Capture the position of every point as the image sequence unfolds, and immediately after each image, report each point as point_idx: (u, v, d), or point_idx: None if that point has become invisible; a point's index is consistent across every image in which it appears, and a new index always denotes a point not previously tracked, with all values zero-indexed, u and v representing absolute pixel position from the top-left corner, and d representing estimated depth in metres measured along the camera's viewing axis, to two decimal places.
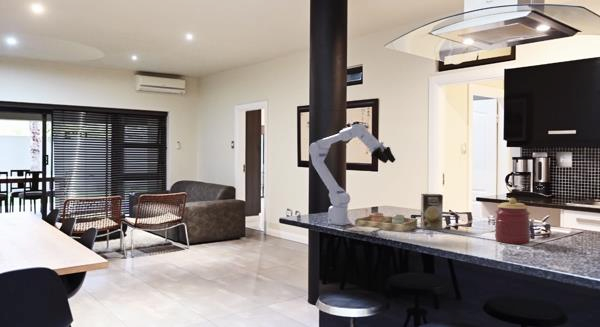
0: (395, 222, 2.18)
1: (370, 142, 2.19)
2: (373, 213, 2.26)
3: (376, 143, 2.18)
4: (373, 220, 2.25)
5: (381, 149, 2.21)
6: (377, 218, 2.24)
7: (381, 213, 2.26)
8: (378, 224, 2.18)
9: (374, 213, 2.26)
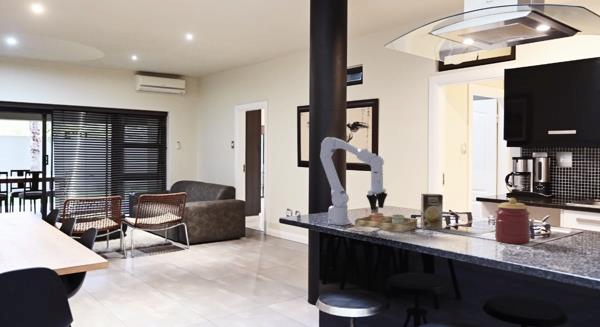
0: (395, 222, 2.18)
1: (375, 183, 2.23)
2: (373, 213, 2.26)
3: (379, 188, 2.23)
4: (373, 220, 2.25)
5: (379, 192, 2.28)
6: (377, 218, 2.24)
7: (381, 213, 2.26)
8: (378, 224, 2.18)
9: (374, 213, 2.26)
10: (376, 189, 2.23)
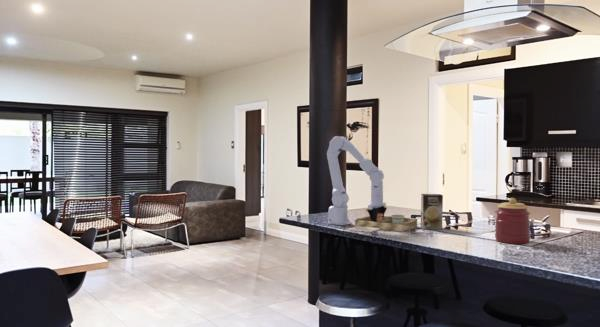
0: (395, 222, 2.18)
1: (375, 197, 2.23)
2: None
3: (379, 202, 2.23)
4: None
5: (379, 205, 2.28)
6: (377, 218, 2.24)
7: (381, 213, 2.26)
8: (378, 224, 2.18)
9: None
10: (376, 203, 2.23)
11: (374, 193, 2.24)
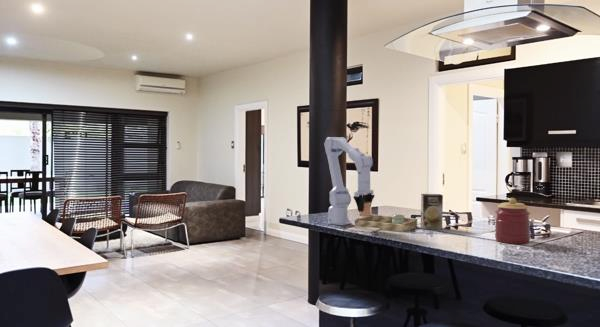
0: (395, 222, 2.18)
1: (362, 184, 2.13)
2: None
3: (366, 189, 2.13)
4: None
5: (367, 193, 2.18)
6: (364, 207, 2.14)
7: (368, 202, 2.16)
8: (378, 224, 2.18)
9: None
10: (363, 190, 2.13)
11: (358, 179, 2.15)
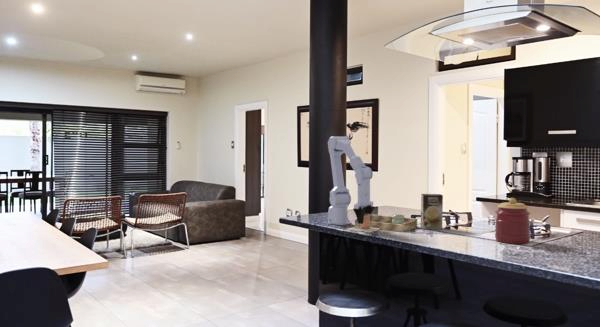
0: (395, 222, 2.18)
1: (362, 196, 2.13)
2: None
3: (365, 201, 2.13)
4: None
5: (366, 205, 2.18)
6: (364, 219, 2.14)
7: (368, 213, 2.16)
8: (378, 224, 2.18)
9: None
10: (363, 202, 2.13)
11: (358, 191, 2.15)
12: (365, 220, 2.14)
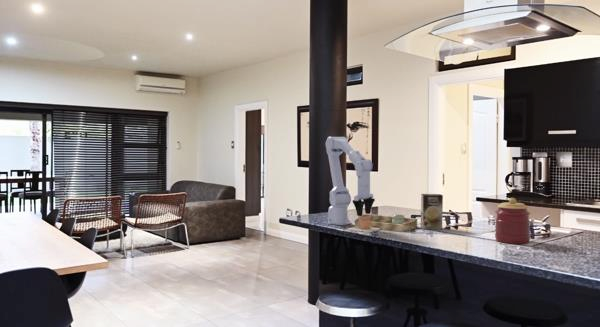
0: (395, 222, 2.18)
1: (362, 188, 2.13)
2: None
3: (365, 193, 2.13)
4: (360, 222, 2.15)
5: (366, 197, 2.17)
6: (365, 220, 2.14)
7: (369, 215, 2.16)
8: (378, 224, 2.18)
9: (362, 215, 2.16)
10: (363, 194, 2.13)
11: (358, 183, 2.15)
12: (365, 221, 2.14)
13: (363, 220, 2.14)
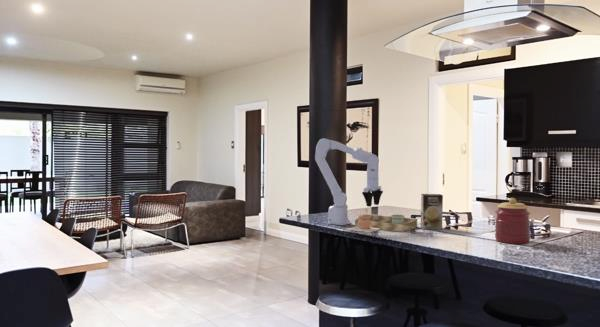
0: (395, 222, 2.18)
1: (371, 180, 2.28)
2: (361, 215, 2.16)
3: (374, 185, 2.28)
4: (360, 222, 2.15)
5: (375, 189, 2.32)
6: (365, 220, 2.14)
7: (369, 215, 2.16)
8: (378, 224, 2.18)
9: (362, 215, 2.16)
10: (372, 186, 2.28)
11: (371, 176, 2.28)
12: (365, 221, 2.14)
13: (363, 220, 2.14)
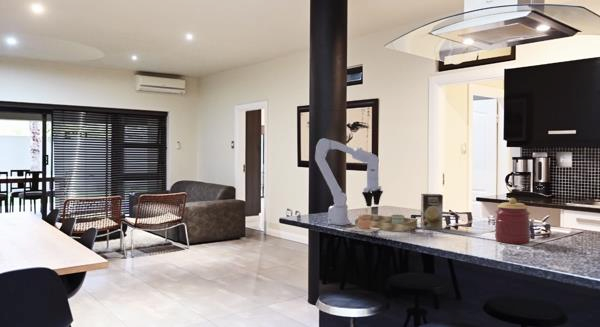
0: (395, 222, 2.18)
1: (371, 180, 2.28)
2: (361, 215, 2.16)
3: (374, 185, 2.28)
4: (360, 222, 2.15)
5: (375, 189, 2.32)
6: (365, 220, 2.14)
7: (369, 215, 2.16)
8: (378, 224, 2.18)
9: (362, 215, 2.16)
10: (372, 186, 2.28)
11: (371, 176, 2.28)
12: (365, 221, 2.14)
13: (363, 220, 2.14)
